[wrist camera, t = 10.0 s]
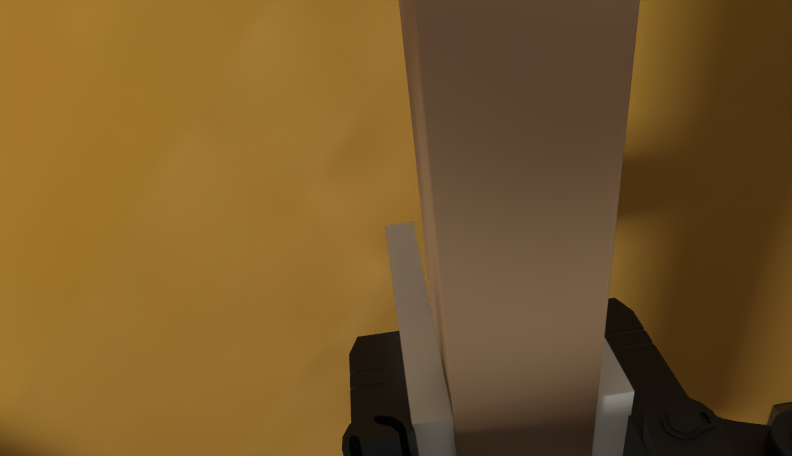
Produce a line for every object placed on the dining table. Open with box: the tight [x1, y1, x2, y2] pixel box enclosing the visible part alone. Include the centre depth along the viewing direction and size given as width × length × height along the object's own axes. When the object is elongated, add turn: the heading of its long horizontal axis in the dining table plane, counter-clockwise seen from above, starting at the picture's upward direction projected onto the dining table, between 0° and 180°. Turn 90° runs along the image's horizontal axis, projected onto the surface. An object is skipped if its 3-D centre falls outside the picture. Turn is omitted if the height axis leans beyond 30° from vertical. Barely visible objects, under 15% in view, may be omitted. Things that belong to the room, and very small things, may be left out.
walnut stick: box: [399, 0, 640, 456], centre depth 12 cm, size 24×2×2 cm, turn 7°
